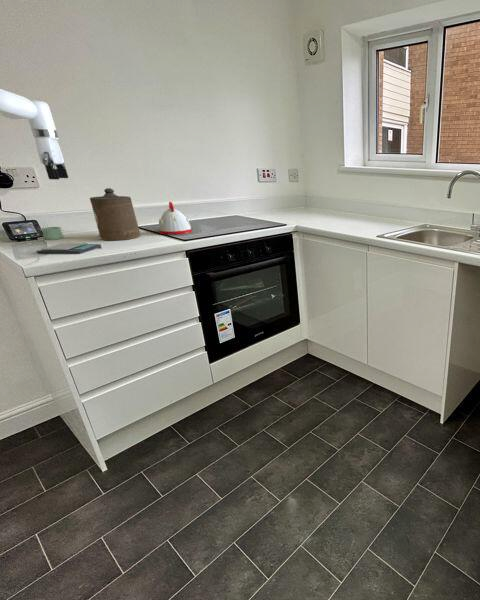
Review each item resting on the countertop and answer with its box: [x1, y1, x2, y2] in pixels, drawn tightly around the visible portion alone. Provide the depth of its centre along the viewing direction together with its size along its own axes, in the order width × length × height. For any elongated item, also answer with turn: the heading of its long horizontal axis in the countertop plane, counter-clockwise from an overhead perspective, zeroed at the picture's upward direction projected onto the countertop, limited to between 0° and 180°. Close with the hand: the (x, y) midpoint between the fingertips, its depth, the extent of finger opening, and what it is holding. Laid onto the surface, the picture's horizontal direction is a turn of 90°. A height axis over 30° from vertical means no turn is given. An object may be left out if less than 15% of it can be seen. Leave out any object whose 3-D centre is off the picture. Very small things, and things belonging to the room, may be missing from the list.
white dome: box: [158, 201, 193, 236], centre depth 176 cm, size 14×14×15 cm
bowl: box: [40, 226, 64, 241], centre depth 156 cm, size 6×6×5 cm
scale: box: [36, 242, 102, 255], centre depth 134 cm, size 14×12×3 cm
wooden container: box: [89, 187, 141, 241], centre depth 159 cm, size 15×15×22 cm
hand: (59, 178), depth 150 cm, fingers open, 9 cm apart
